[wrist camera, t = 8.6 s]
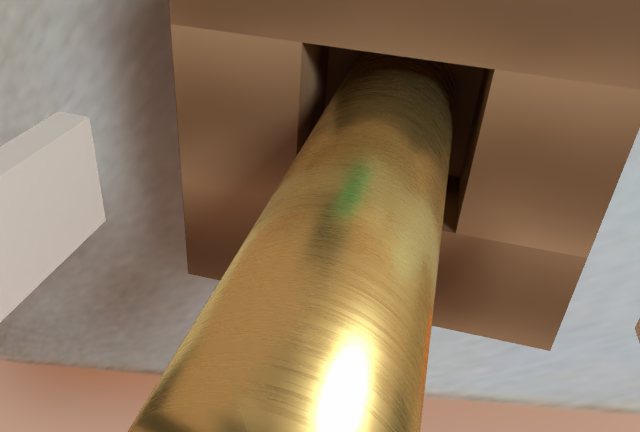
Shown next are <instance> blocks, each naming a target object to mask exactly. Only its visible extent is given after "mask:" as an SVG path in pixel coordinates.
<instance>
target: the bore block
mask: <svg viewBox="0 0 640 432" xmlns="http://www.w3.org/2000/svg"><path fill="white" fill-rule="evenodd" d="M169 11H170V25H171V39H172V53H173V66H174V80H175V94H176V108H177V122H178V136H179V150H180V164H181V178H182V192H183V206H184V220H185V234H186V248H187V262H188V273H189V274H193V275H198V276H203V277H207V278H212V279H217V280H221V279H222V277H223V275H224V274H225V272H226V271H227V269H228V267H229V266H230V264H231V262H232V261H233V259H234V257H235V256H236V254H237V253H238V251H239V249H240V248H241V246H242V244H243V243H244V241H245V240H246V238H247V236H248V235H249V233H250V231H251V230H252V228H253V227H254V225H255V223H256V222H257V220H258V218H259V217H260V215H261V213H262V212H263V210H264V209H265V207H266V205H267V204H268V202H269V200H270V199H271V197H272V196H273V194H274V192H275V191H276V189H277V187H278V186H279V184H280V182H281V181H282V179H283V178H284V176H285V174H286V173H287V171H288V169H289V168H290V166H291V165H292V163H293V161H294V160H295V158H296V156H297V155H298V153H299V152H300V150H301V148H302V147H303V145H304V143H305V142H306V140H307V138H308V137H309V135H310V134H311V132H312V130H313V129H314V127H315V125H316V124H317V122H318V121H319V119H320V117H321V116H322V114H323V112H324V111H325V109H326V107H327V106H328V104H329V103H330V101H331V99H332V98H333V96H334V94H335V93H336V91H337V90H338V88H339V86H340V85H341V83H342V81H343V80H344V78H345V77H346V75H347V73H348V72H349V70H350V68H351V67H352V65H353V64H354V63H355V61H356V60H357V59H358V58H359V57H360V56H361V55H362V54H363V53H365V52H366V51H367V52H374V53H381V54H388V55H395V56H402V57H409V58H417V59H424V60H431V61H438V62H444V63H445V64H446V66H447V67H448V69H449V70H450V72H451V74H452V77H453V79H454V83H455V87H456V106H455V116H454V125H453V134H452V143H451V152H450V161H449V170H448V180H447V189H446V198H445V207H444V216H443V225H442V234H441V244H440V253H439V262H438V271H437V280H436V289H435V299H434V308H433V317H432V326H437V327H441V328H446V329H451V330H455V331H460V332H465V333H469V334H474V335H479V336H483V337H488V338H493V339H498V340H502V341H507V342H512V343H516V344H521V345H526V346H530V347H535V348H540V349H544V350H549V351H550V350H551V347H552V345H553V342H554V340H555V337H556V335H557V332H558V330H559V327H560V325H561V322H562V320H563V317H564V315H565V312H566V310H567V307H568V305H569V302H570V300H571V297H572V295H573V292H574V290H575V287H576V285H577V282H578V280H579V277H580V275H581V272H582V270H583V267H584V265H585V262H586V260H587V258H588V255H589V253H590V250H591V248H592V245H593V243H594V240H595V238H596V235H597V233H598V230H599V228H600V225H601V223H602V220H603V218H604V215H605V213H606V210H607V208H608V205H609V203H610V200H611V198H612V195H613V193H614V190H615V188H616V185H617V183H618V180H619V178H620V175H621V173H622V170H623V168H624V165H625V163H626V160H627V158H628V155H629V153H630V150H631V148H632V145H633V143H634V140H635V138H636V135H637V133H638V130H639V128H640V0H169Z"/></svg>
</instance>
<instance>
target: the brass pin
mask: <svg viewBox="0 0 640 432" xmlns="http://www.w3.org/2000/svg"><path fill="white" fill-rule="evenodd" d="M455 106H456V87H455V83H454V79H453V77H452V74H451V72H450V70H449V69H448V67H447V66H446V64H445V63H444V62H438V61H431V60H424V59H417V58H409V57H402V56H395V55H388V54H381V53H374V52H367V51H366V52H365V53H363V54H362V55H361V56H360V57H359V58H358V59H357V60H356V61H355V63H354V64H353V65H352V67H351V68H350V70H349V72H348V73H347V75H346V77H345V78H344V80H343V81H342V83H341V85H340V86H339V88H338V90H337V91H336V93H335V94H334V96H333V98H332V99H331V101H330V103H329V104H328V106H327V107H326V109H325V111H324V112H323V114H322V116H321V117H320V119H319V121H318V122H317V124H316V125H315V127H314V129H313V130H312V132H311V134H310V135H309V137H308V138H307V140H306V142H305V143H304V145H303V147H302V148H301V150H300V152H299V153H298V155H297V156H296V158H295V160H294V161H293V163H292V165H291V166H290V168H289V169H288V171H287V173H286V174H285V176H284V178H283V179H282V181H281V182H280V184H279V186H278V187H277V189H276V191H275V192H274V194H273V196H272V197H271V199H270V200H269V202H268V204H267V205H266V207H265V209H264V210H263V212H262V213H261V215H260V217H259V218H258V220H257V222H256V223H255V225H254V227H253V228H252V230H251V231H250V233H249V235H248V236H247V238H246V240H245V241H244V243H243V244H242V246H241V248H240V249H239V251H238V253H237V254H236V256H235V257H234V259H233V261H232V262H231V264H230V266H229V267H228V269H227V271H226V272H225V274H224V275H223V277H222V279H221V280H220V282H219V284H218V285H217V287H216V288H215V290H214V292H213V293H212V295H211V297H210V298H209V300H208V302H207V303H206V305H205V306H204V308H203V310H202V311H201V313H200V315H199V316H198V318H197V319H196V321H195V323H194V324H193V326H192V328H191V329H190V331H189V332H188V334H187V336H186V337H185V339H184V341H183V342H182V344H181V346H180V347H179V349H178V350H177V352H176V354H175V355H174V357H173V359H172V360H171V362H170V363H169V365H168V367H167V368H166V370H165V372H164V373H163V375H162V377H161V378H160V380H159V382H158V383H157V385H156V386H155V388H154V390H153V391H152V393H151V394H150V396H149V398H148V399H147V401H146V403H145V404H144V406H143V408H142V409H141V411H140V412H139V414H138V416H137V417H136V419H135V421H134V422H133V424H132V425H131V427H130V429H129V430H128V432H420V426H421V417H422V408H423V399H424V390H425V381H426V372H427V363H428V353H429V344H430V335H431V326H432V317H433V308H434V299H435V289H436V280H437V271H438V262H439V253H440V244H441V234H442V225H443V216H444V207H445V198H446V189H447V180H448V170H449V161H450V152H451V143H452V134H453V125H454V116H455Z"/></svg>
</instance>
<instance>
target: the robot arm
mask: <svg viewBox="0 0 640 432" xmlns="http://www.w3.org/2000/svg"><path fill="white" fill-rule="evenodd" d="M105 221H106V218H105V212H104V206H103V200H102V193H101V187H100V181H99V175H98V169H97V162H96V156H95V150H94V144H93V137H92V131H91V125H90V119H89V117H87V116H81V115H75V114H69V113H63V112H57V113H55V114H53V115H52V116H50V117H48V118H47V119H45V120H43V121H42V122H40V123H38V124H37V125H35V126H33V127H32V128H30V129H28V130H27V131H25V132H23V133H22V134H20V135H18V136H17V137H15V138H13V139H12V140H10V141H8V142H7V143H5V144H3V145H2V146H0V322H1V321H2V320H3V319H4V318H5V317H6V316H7V315H8V314H9V313H11V312H12V311H13V310H14V309H15V308H16V307H17V306H18V305H19V304H20V303H21V302H22V301H23V300H24V299H25V298H26V297H27V296H28V295H29V294H30V293H31V292H32V291H33V290H34V289H35V288H36V287H37V286H39V285H40V284H41V283H42V282H43V281H44V280H45V279H46V278H47V277H48V276H49V275H50V274H51V273H52V272H53V271H54V270H55V269H56V268H57V267H58V266H59V265H60V264H61V263H62V262H63V261H64V260H65V259H67V258H68V257H69V256H70V255H71V254H72V253H73V252H74V251H75V250H76V249H77V248H78V247H79V246H80V245H81V244H82V243H83V242H84V241H85V240H86V239H87V238H88V237H89V236H90V235H91V234H92V233H93V232H95V231H96V230H97V229H98V228H99V227H100V226H101V225H102V224H103V223H104V222H105ZM635 330H636V333H637V336H638V339H639V342H640V319H639V321H638V323H637V325H636V327H635Z"/></svg>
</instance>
